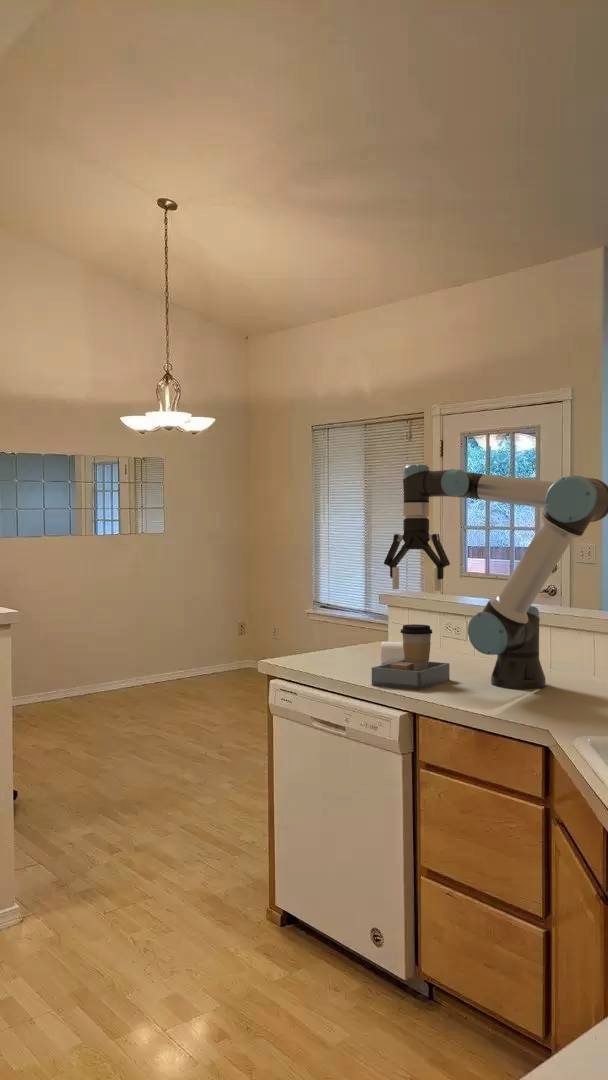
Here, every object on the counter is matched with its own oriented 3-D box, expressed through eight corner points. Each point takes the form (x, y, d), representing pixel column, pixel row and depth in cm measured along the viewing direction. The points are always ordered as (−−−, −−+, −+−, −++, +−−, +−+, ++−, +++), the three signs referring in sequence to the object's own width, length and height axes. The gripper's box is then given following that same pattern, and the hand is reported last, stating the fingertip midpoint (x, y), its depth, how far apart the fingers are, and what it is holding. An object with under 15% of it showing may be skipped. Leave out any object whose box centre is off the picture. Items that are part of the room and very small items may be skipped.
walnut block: (406, 683, 240) (406, 665, 240) (390, 681, 242) (390, 664, 242) (414, 680, 244) (414, 663, 244) (398, 679, 246) (398, 662, 246)
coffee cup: (432, 679, 245) (432, 627, 245) (399, 679, 247) (399, 627, 247) (432, 674, 255) (432, 624, 255) (401, 673, 256) (400, 623, 256)
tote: (449, 680, 252) (449, 663, 252) (419, 690, 235) (419, 672, 235) (403, 675, 260) (403, 659, 260) (371, 685, 244) (371, 667, 244)
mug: (411, 668, 274) (411, 643, 274) (380, 667, 276) (380, 643, 276) (414, 663, 286) (414, 639, 286) (384, 662, 288) (384, 638, 288)
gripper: (461, 517, 247) (461, 590, 247) (384, 518, 261) (385, 587, 261) (450, 516, 240) (450, 592, 240) (372, 518, 254) (372, 589, 254)
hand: (416, 590), depth 251 cm, fingers open, 13 cm apart
